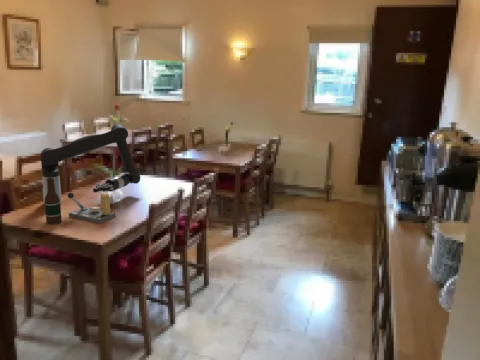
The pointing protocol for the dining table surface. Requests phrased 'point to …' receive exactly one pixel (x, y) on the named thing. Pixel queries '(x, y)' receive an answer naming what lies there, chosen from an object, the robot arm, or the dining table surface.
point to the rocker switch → (94, 209)
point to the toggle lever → (75, 200)
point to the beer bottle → (52, 204)
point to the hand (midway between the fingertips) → (94, 190)
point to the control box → (91, 215)
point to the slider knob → (105, 204)
